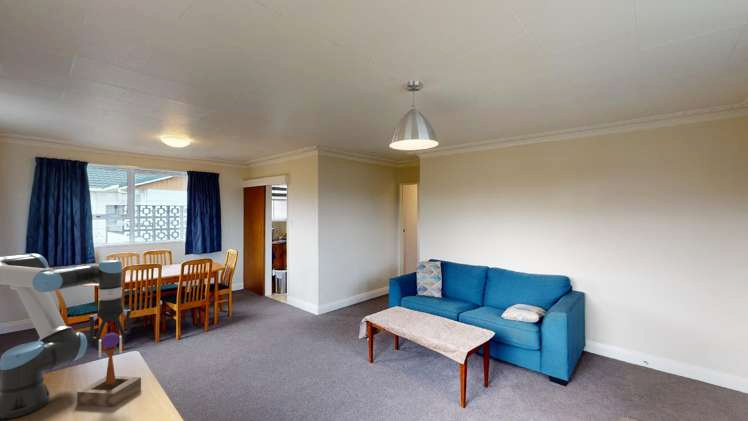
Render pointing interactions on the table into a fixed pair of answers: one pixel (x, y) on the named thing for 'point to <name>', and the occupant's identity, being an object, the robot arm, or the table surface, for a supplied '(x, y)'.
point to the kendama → (110, 354)
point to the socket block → (102, 396)
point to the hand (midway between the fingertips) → (110, 354)
